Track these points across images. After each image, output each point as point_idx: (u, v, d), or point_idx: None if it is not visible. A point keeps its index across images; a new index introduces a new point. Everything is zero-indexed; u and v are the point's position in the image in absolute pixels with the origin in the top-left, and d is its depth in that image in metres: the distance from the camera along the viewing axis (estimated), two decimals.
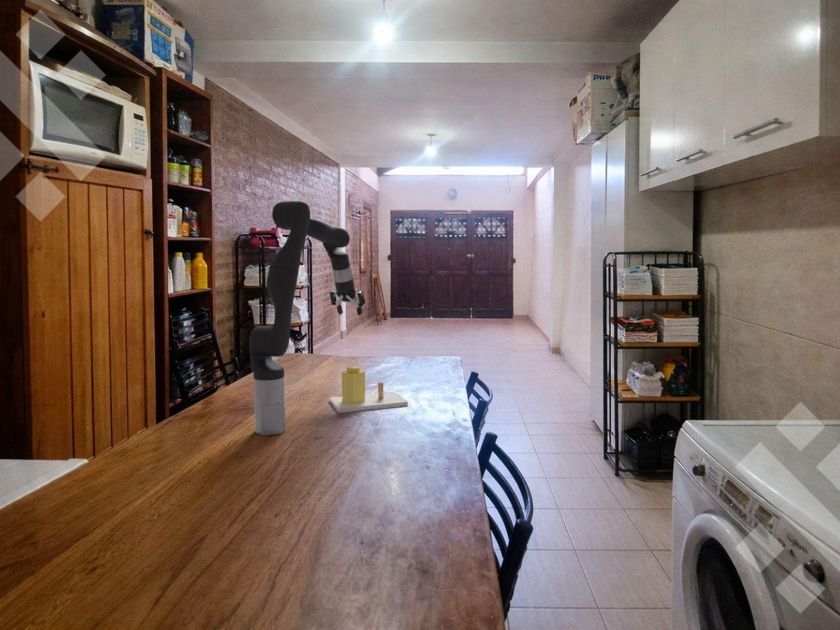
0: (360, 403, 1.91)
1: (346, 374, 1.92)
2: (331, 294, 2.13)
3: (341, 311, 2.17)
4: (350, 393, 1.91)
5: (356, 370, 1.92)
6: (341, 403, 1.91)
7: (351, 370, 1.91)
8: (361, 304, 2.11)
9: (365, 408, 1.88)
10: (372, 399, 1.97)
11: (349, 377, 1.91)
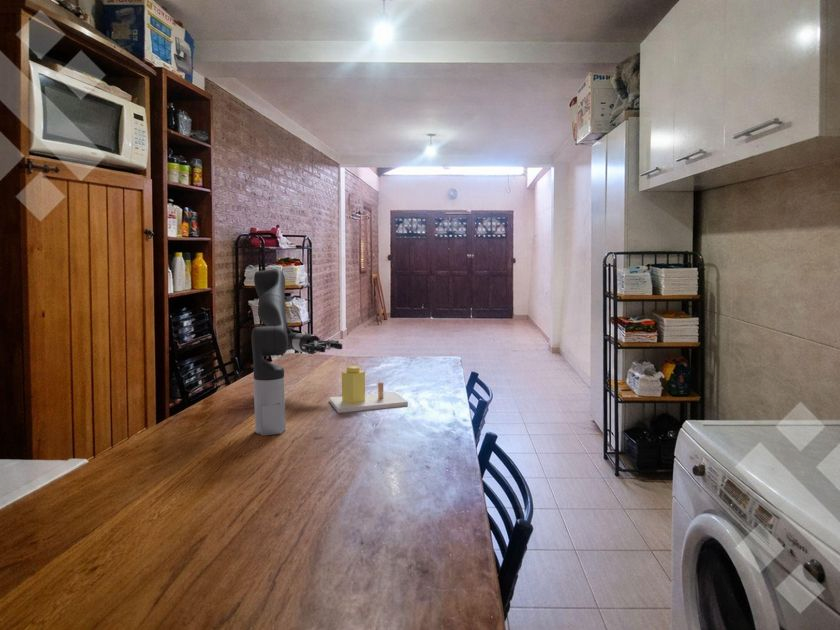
0: (360, 403, 1.91)
1: (346, 374, 1.92)
2: (304, 344, 2.01)
3: None
4: (350, 393, 1.91)
5: (356, 370, 1.92)
6: (341, 403, 1.91)
7: (351, 370, 1.91)
8: (336, 341, 2.08)
9: (365, 408, 1.88)
10: (372, 399, 1.97)
11: (349, 377, 1.91)
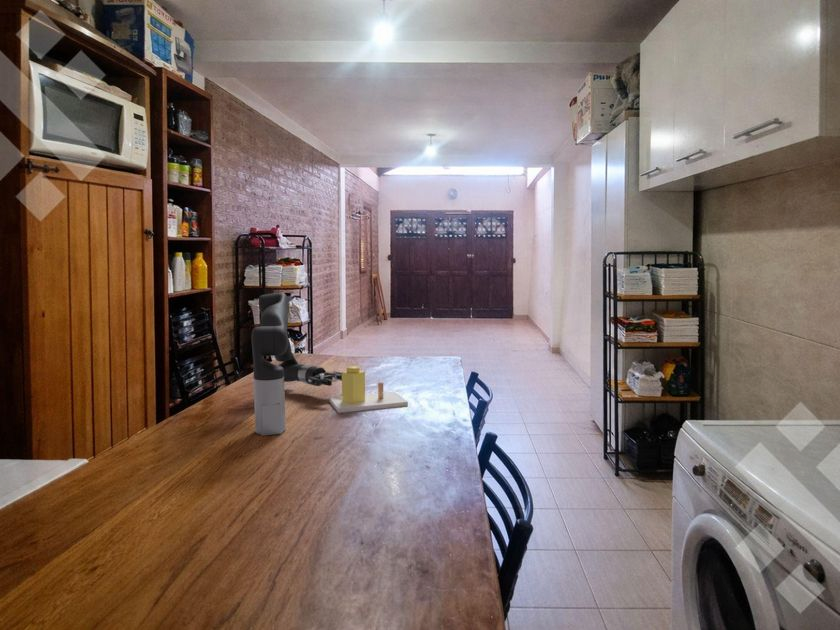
0: (360, 403, 1.91)
1: (346, 374, 1.92)
2: (310, 377, 2.00)
3: None
4: (350, 393, 1.91)
5: (356, 370, 1.92)
6: (341, 403, 1.91)
7: (351, 370, 1.91)
8: None
9: (365, 408, 1.88)
10: (372, 399, 1.97)
11: (349, 377, 1.91)
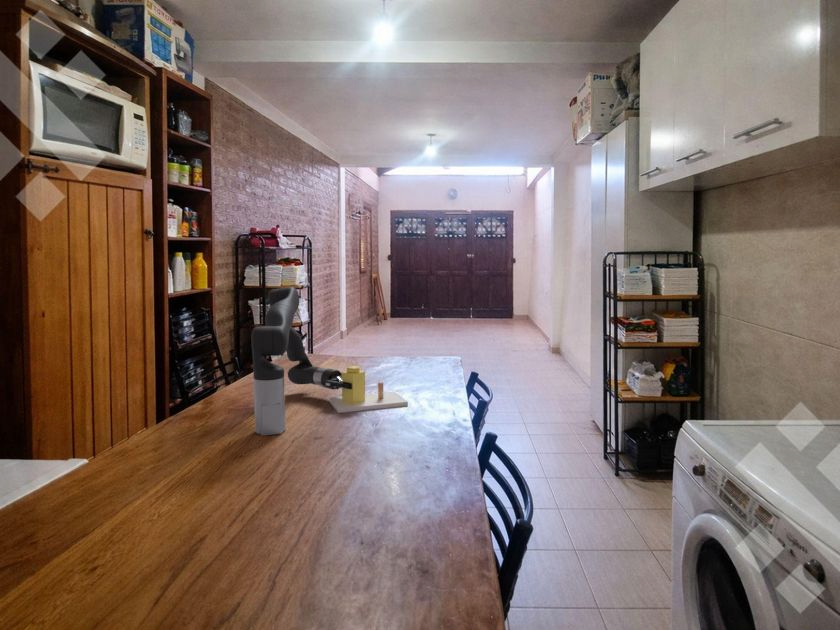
0: (360, 403, 1.91)
1: (346, 374, 1.92)
2: (328, 380, 1.94)
3: None
4: (350, 393, 1.91)
5: (356, 370, 1.91)
6: (341, 403, 1.91)
7: (351, 370, 1.91)
8: None
9: (365, 408, 1.88)
10: (372, 399, 1.97)
11: (349, 377, 1.91)
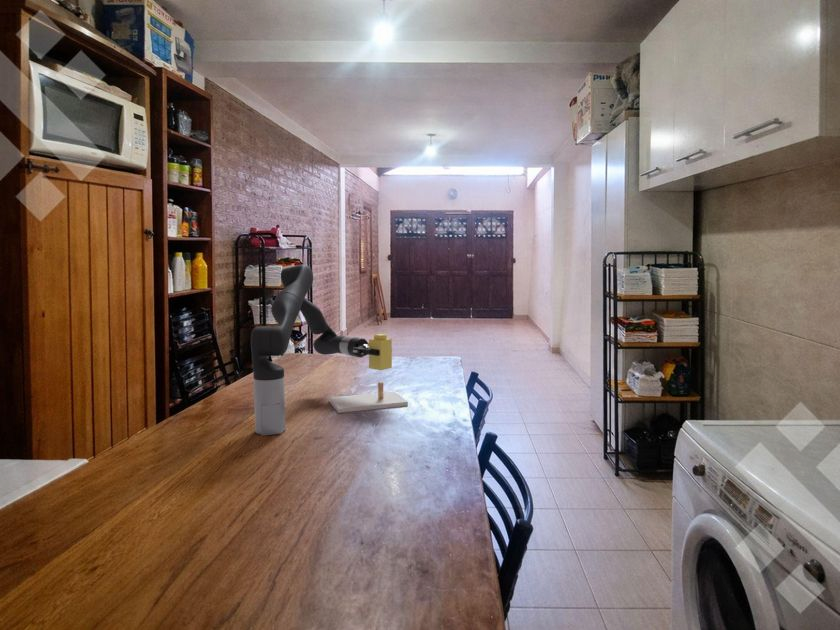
0: (360, 403, 1.91)
1: (373, 341, 1.94)
2: (355, 347, 1.96)
3: None
4: (378, 359, 1.93)
5: (383, 337, 1.94)
6: (341, 403, 1.91)
7: (378, 337, 1.94)
8: None
9: (365, 408, 1.88)
10: (372, 399, 1.97)
11: (377, 344, 1.93)
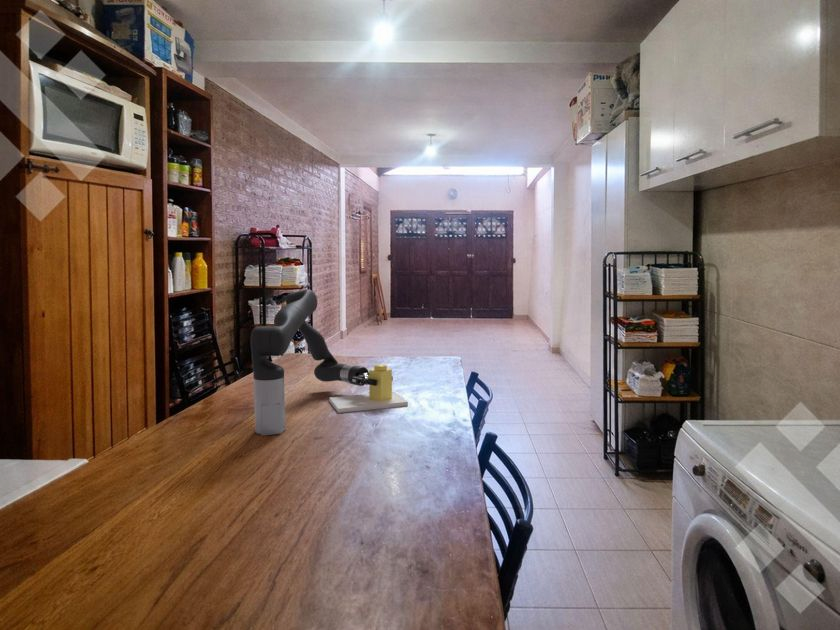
0: (360, 403, 1.91)
1: (374, 372, 1.95)
2: (355, 377, 1.98)
3: None
4: (378, 390, 1.95)
5: (383, 368, 1.95)
6: (341, 403, 1.91)
7: (379, 368, 1.95)
8: None
9: (365, 408, 1.88)
10: (372, 399, 1.97)
11: (377, 375, 1.94)
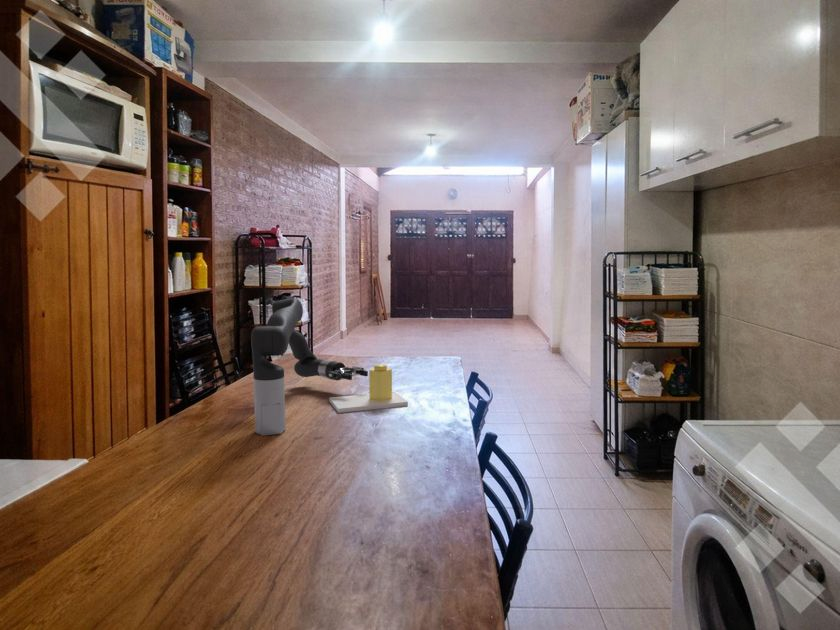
0: (360, 403, 1.91)
1: (374, 372, 1.95)
2: (331, 371, 2.06)
3: None
4: (378, 390, 1.95)
5: (383, 368, 1.95)
6: (341, 403, 1.91)
7: (379, 368, 1.95)
8: None
9: (365, 408, 1.88)
10: (372, 399, 1.97)
11: (377, 375, 1.94)
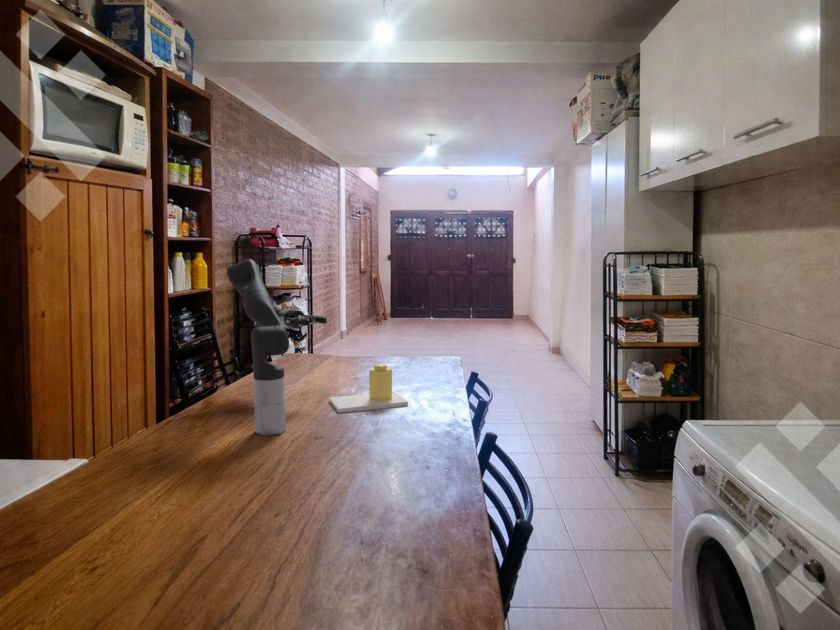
0: (360, 403, 1.91)
1: (374, 372, 1.95)
2: (289, 318, 2.01)
3: None
4: (378, 390, 1.95)
5: (383, 368, 1.95)
6: (341, 403, 1.91)
7: (379, 368, 1.95)
8: (321, 316, 2.09)
9: (365, 408, 1.88)
10: (372, 399, 1.97)
11: (377, 375, 1.94)
